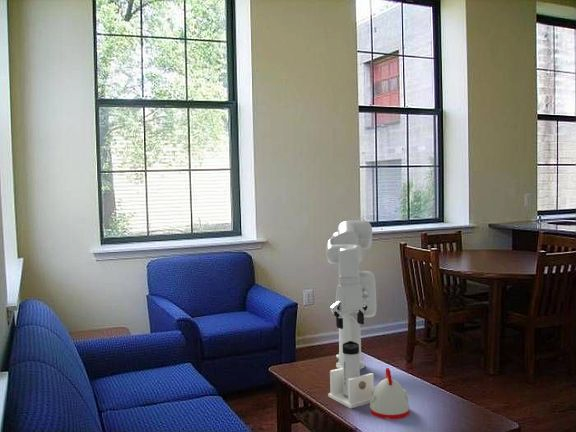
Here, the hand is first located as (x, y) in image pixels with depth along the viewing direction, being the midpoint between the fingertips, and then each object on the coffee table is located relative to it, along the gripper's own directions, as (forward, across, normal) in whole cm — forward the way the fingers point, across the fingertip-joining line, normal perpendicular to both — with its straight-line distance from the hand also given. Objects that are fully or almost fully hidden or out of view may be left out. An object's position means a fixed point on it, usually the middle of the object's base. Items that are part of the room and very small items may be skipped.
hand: (350, 325), depth 213 cm
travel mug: (+27, +1, +1) cm, 27 cm away
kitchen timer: (+28, -3, +18) cm, 33 cm away
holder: (+28, +1, +1) cm, 28 cm away
